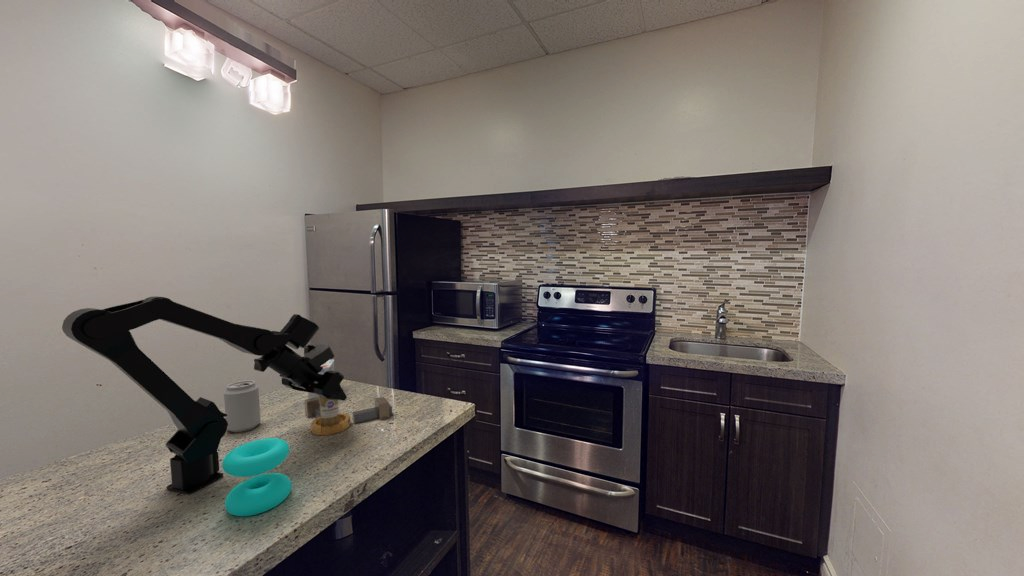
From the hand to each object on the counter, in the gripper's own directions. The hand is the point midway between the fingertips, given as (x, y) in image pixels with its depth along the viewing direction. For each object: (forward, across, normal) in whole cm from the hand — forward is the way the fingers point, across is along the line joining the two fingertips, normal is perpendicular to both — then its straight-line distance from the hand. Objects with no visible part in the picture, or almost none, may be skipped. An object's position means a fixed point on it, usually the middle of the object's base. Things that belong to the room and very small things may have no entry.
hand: (334, 395), depth 100 cm
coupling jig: (+7, +2, +4) cm, 9 cm away
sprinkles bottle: (+5, 0, +7) cm, 8 cm away
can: (-3, +21, +15) cm, 26 cm away
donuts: (-13, -18, +25) cm, 33 cm away
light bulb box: (+14, +25, -3) cm, 29 cm away
